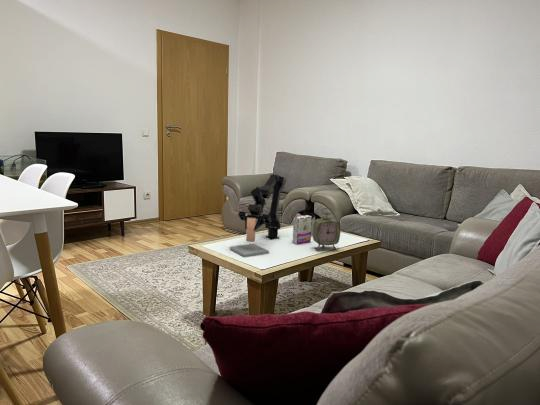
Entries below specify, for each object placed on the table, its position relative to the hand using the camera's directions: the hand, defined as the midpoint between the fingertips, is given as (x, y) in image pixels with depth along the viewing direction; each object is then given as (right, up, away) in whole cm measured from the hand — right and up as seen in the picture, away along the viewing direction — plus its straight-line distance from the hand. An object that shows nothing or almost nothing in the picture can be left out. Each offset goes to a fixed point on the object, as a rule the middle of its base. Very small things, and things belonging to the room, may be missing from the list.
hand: (250, 229), depth 240 cm
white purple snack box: (+34, -6, +47) cm, 58 cm away
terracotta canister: (0, -6, +2) cm, 7 cm away
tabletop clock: (+43, -12, +16) cm, 48 cm away
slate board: (-1, -12, +4) cm, 13 cm away
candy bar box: (+30, -10, +27) cm, 42 cm away
